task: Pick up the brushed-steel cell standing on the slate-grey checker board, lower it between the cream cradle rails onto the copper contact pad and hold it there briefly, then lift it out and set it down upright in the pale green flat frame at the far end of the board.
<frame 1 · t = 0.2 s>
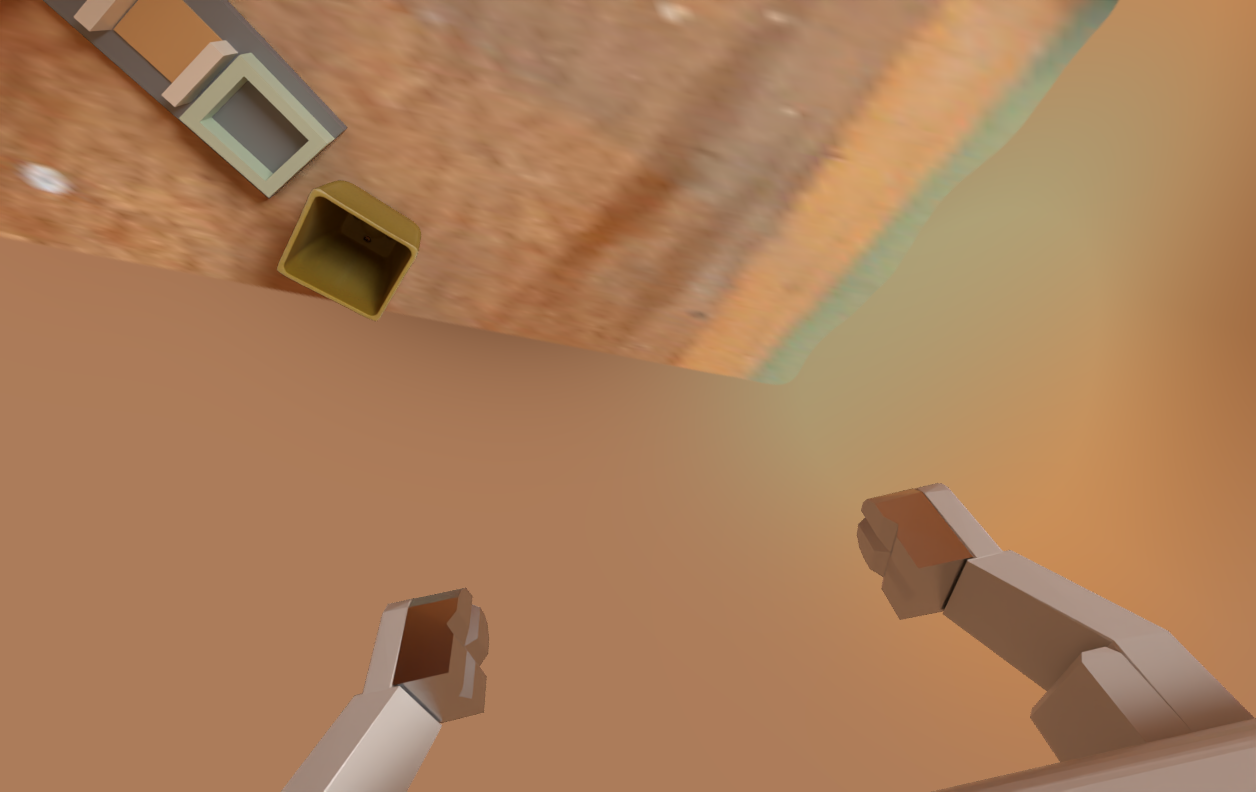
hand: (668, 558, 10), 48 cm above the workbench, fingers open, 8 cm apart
pale green flat frame: (270, 124, 45), resting on board
board: (183, 40, 40), on the workbench
cradle: (176, 34, 40), resting on board
flower pot: (373, 223, 51), on the workbench
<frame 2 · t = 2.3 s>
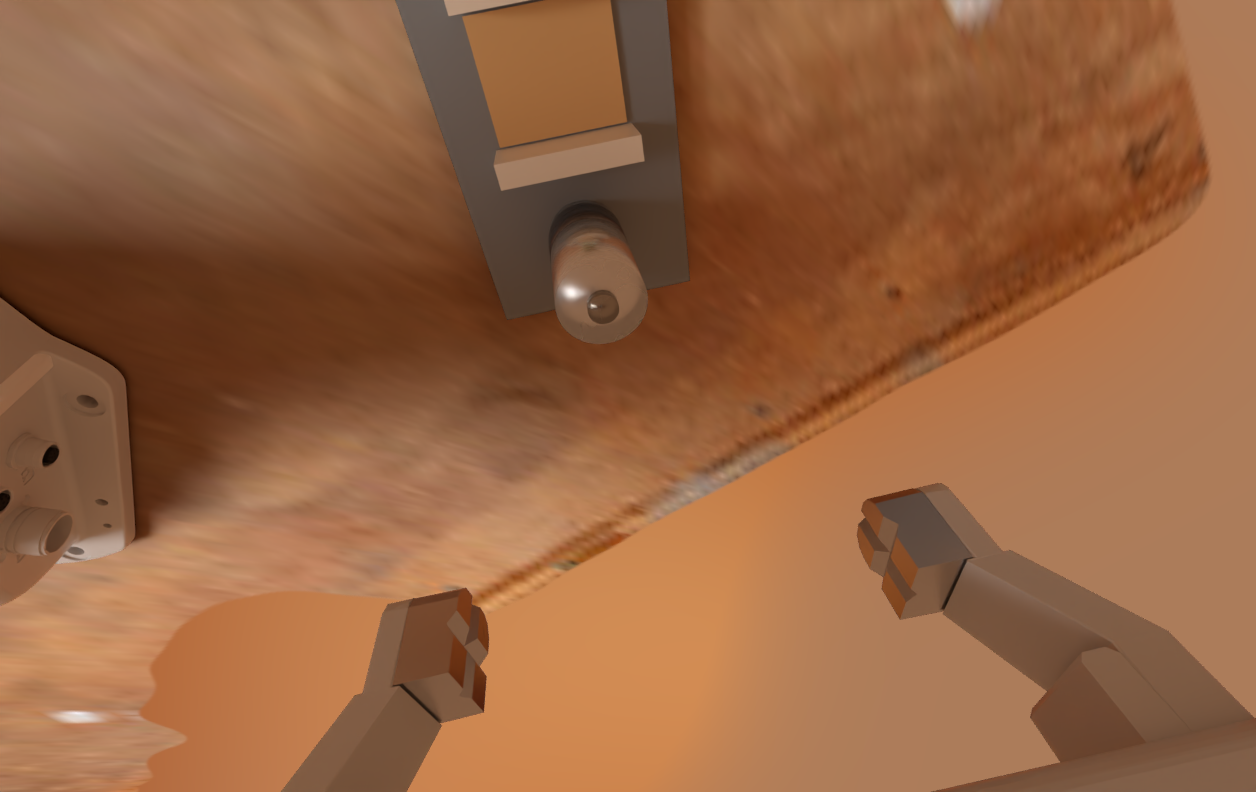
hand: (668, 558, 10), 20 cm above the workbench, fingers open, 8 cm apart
board: (546, 55, 21), on the workbench
cradle: (549, 69, 22), resting on board
cell: (585, 237, 25), point 1 cm above the workbench, touching board
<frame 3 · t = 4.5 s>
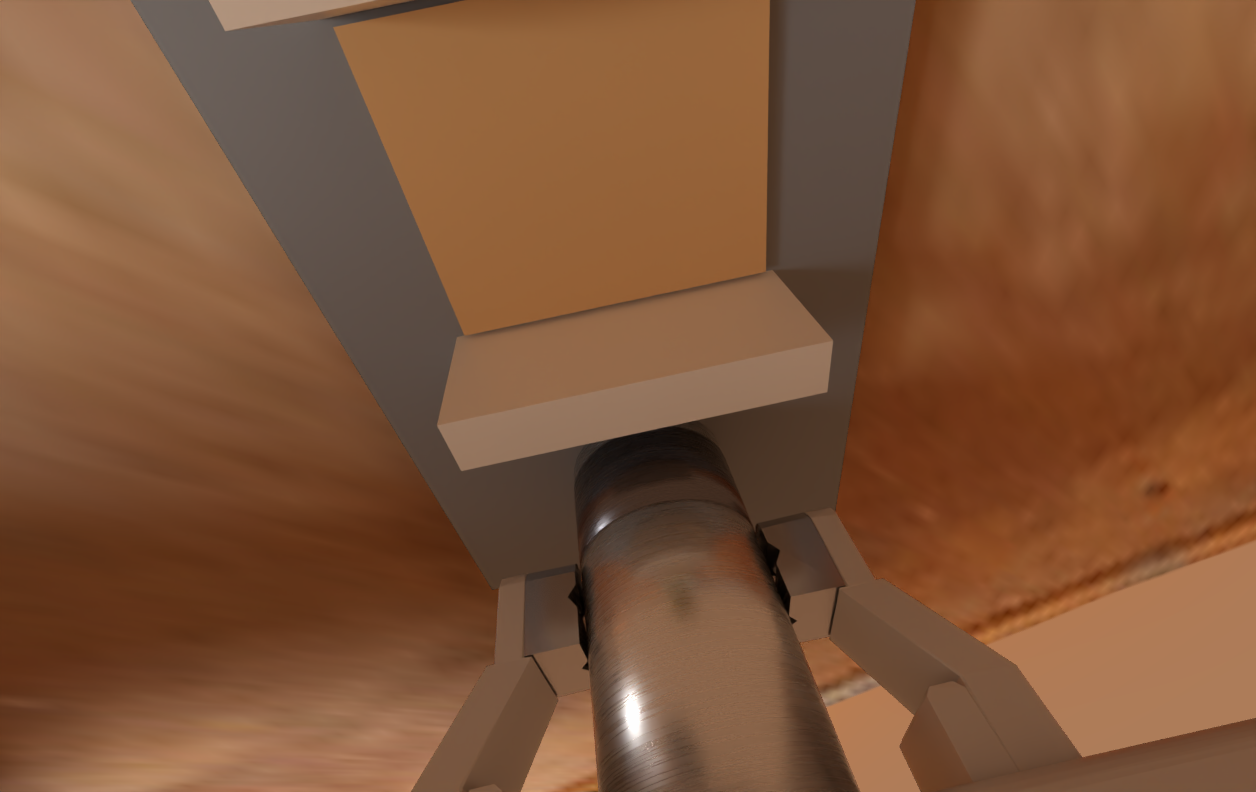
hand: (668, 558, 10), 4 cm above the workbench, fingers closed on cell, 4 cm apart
board: (578, 121, 8), on the workbench
cradle: (584, 153, 9), resting on board
cell: (648, 469, 12), point 1 cm above the workbench, touching board, gripper
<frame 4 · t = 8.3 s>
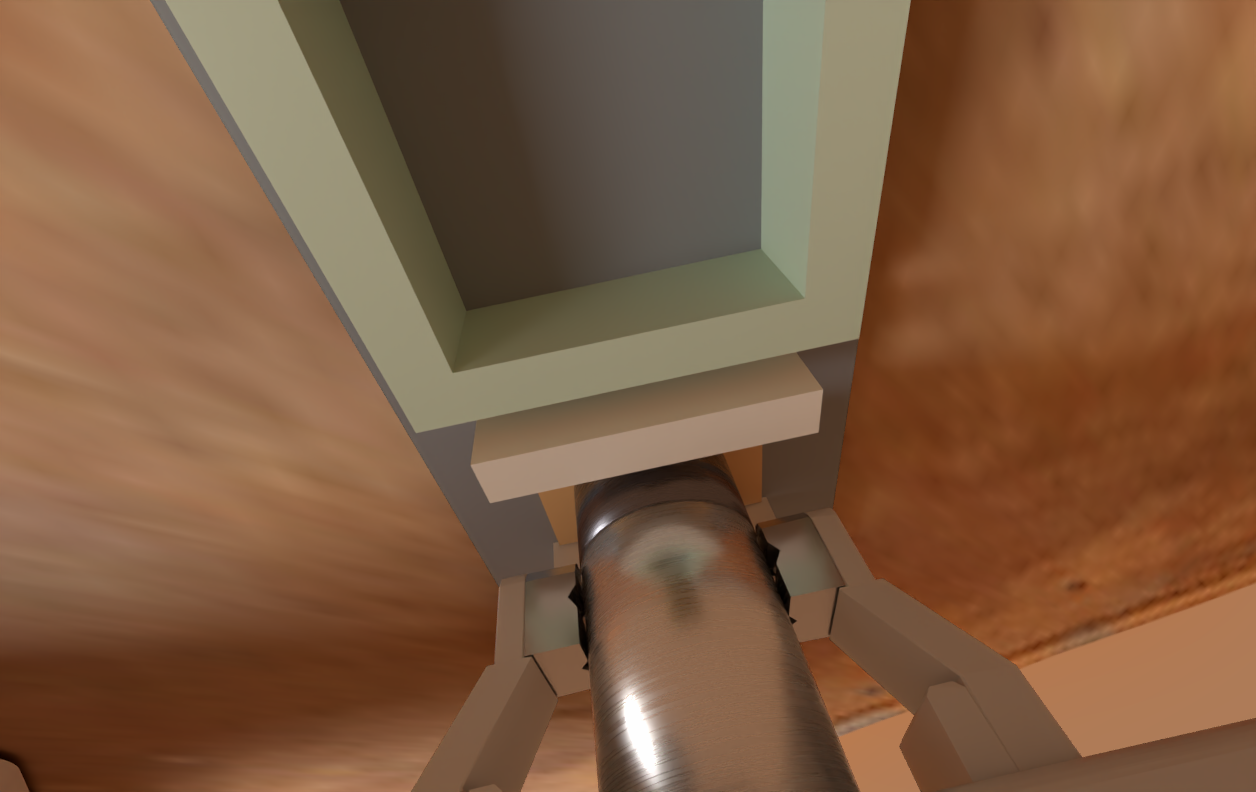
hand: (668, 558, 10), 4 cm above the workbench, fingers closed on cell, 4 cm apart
pale green flat frame: (578, 101, 9), resting on board
board: (639, 418, 13), on the workbench
cradle: (641, 433, 13), resting on board
cell: (648, 469, 12), point 1 cm above the workbench, touching gripper
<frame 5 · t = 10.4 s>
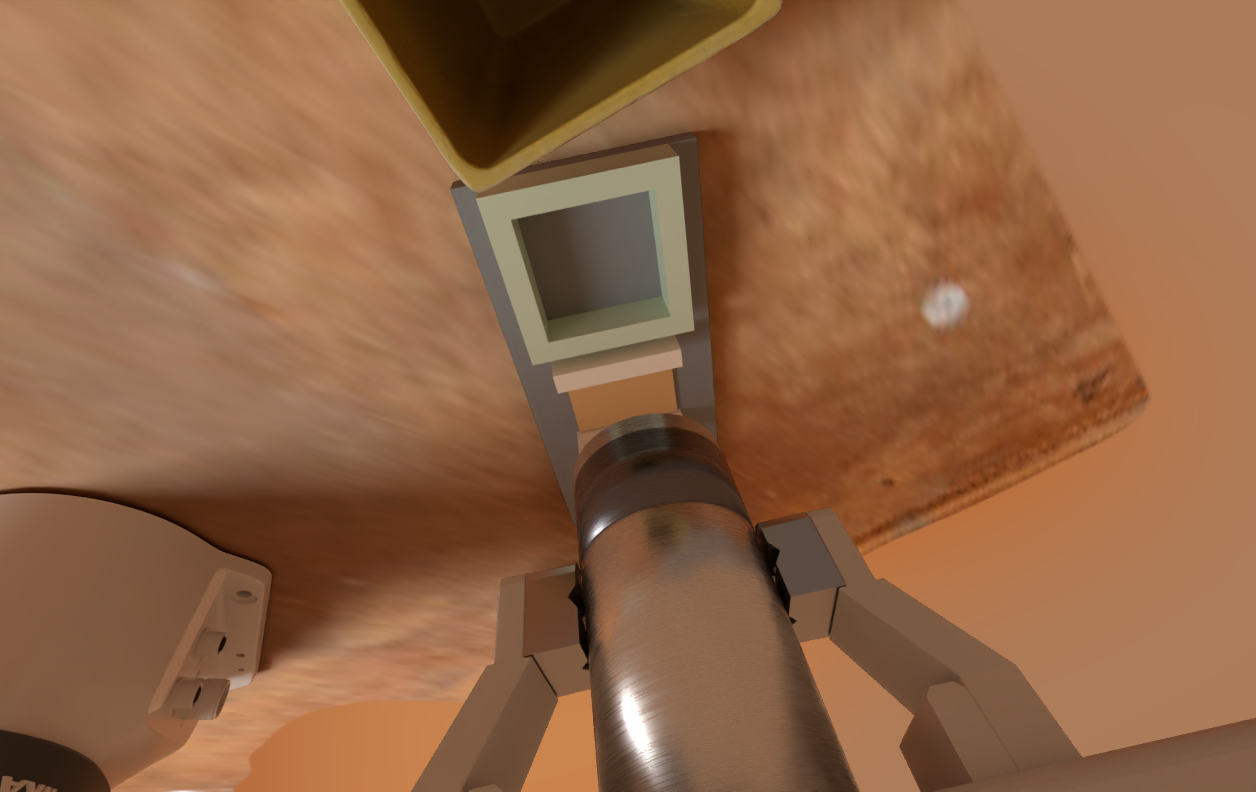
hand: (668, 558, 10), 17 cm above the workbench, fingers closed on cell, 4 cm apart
pale green flat frame: (591, 244, 23), resting on board
board: (617, 369, 28), on the workbench
cradle: (619, 376, 28), resting on board
cell: (648, 470, 12), point 14 cm above the workbench, touching gripper
when the fingers open (5 cm above the workbench, at t = 12.0 s): cell stays where it is, resting on board.
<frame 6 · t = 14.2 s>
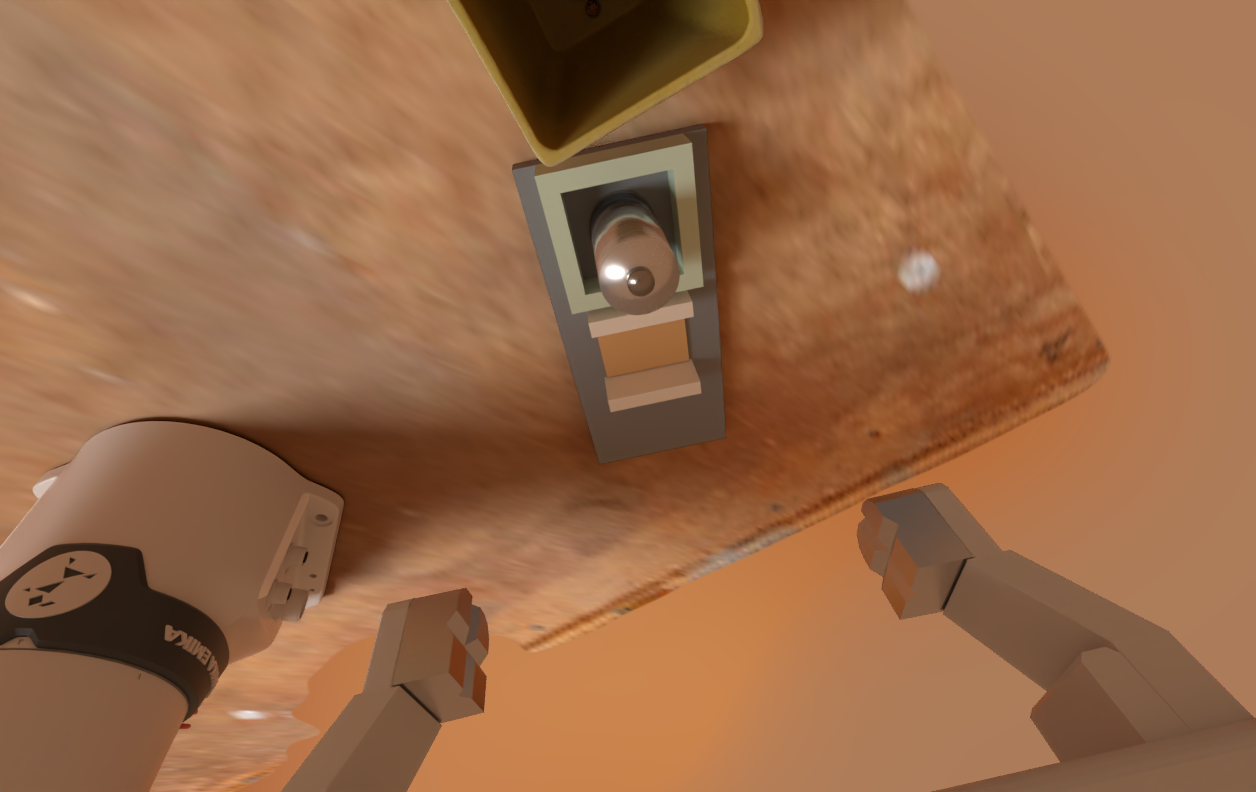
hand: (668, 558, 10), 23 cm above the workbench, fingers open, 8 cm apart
pale green flat frame: (620, 216, 29), resting on board
board: (639, 324, 33), on the workbench
cradle: (640, 330, 34), resting on board
cell: (622, 224, 28), point 1 cm above the workbench, touching board
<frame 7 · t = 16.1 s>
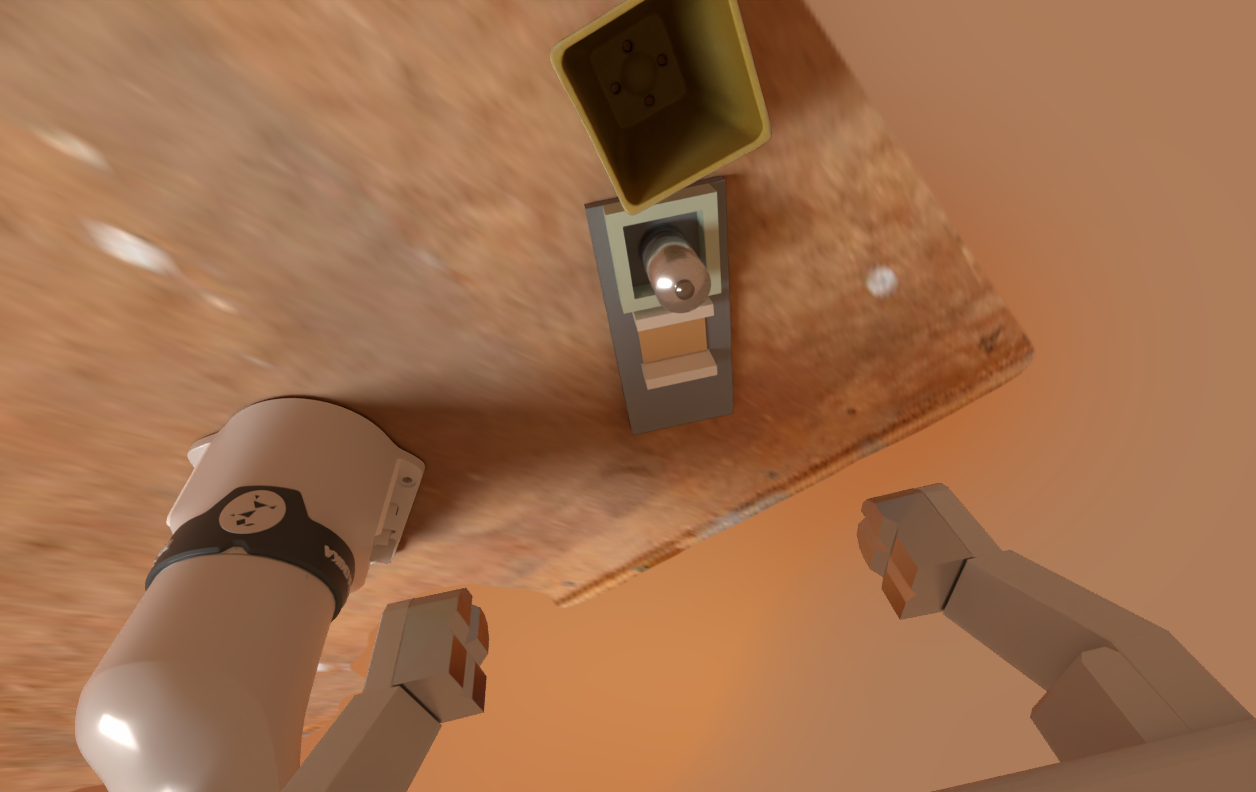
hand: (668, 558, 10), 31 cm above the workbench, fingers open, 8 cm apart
pale green flat frame: (659, 240, 39), resting on board
board: (669, 321, 43), on the workbench
cradle: (669, 327, 44), resting on board
flower pot: (639, 75, 32), on the workbench
cell: (661, 247, 38), point 1 cm above the workbench, touching board
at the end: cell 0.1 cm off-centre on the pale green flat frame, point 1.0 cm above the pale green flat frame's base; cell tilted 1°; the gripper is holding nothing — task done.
